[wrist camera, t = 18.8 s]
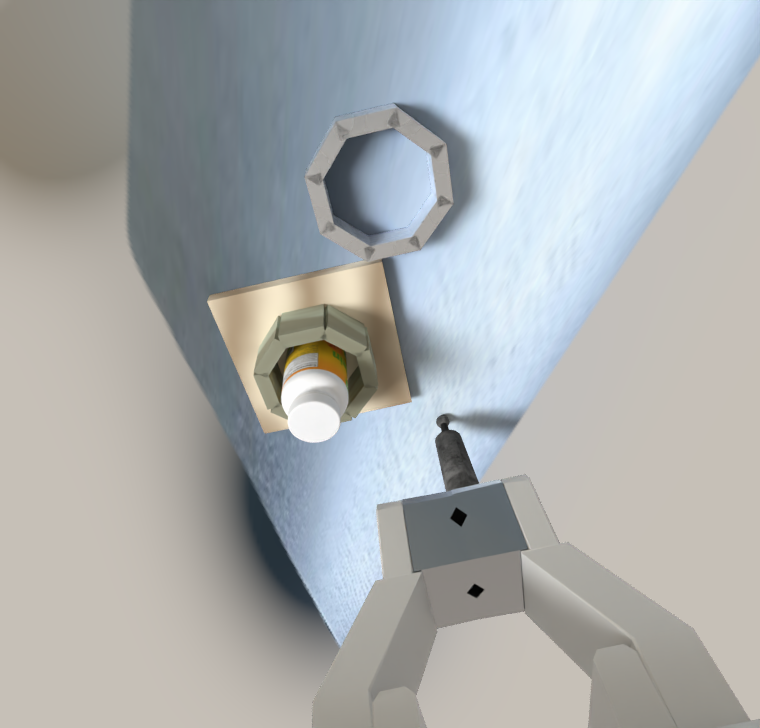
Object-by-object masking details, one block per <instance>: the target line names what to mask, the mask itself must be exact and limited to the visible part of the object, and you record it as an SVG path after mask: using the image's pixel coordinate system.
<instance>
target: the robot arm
mask: <svg viewBox="0 0 760 728" xmlns="http://www.w3.org/2000/svg"><path fill="white" fill-rule="evenodd" d="M376 515H377V525H378V535H379V545H380V554H381V564H382V574H383V579H381V580H377V581H375V583H374V585H373V587H372V588H371V590H370V592H369V594H368V596H367V598H366V600H365V602H364V604H363V606H362V608H361V610H360V612H359V613H358V615H357V617H356V619H355V621H354V623H353V625H352V627H351V629H350V631H349V633H348V635H347V636H346V638H345V640H344V642H343V644H342V646H341V648H340V650H339V652H338V654H337V656H336V658H335V660H334V662H333V664H332V665H331V667H330V669H329V671H328V673H327V675H326V677H325V679H324V681H323V683H322V684H321V686H320V688H319V690H318V692H317V694H316V696H315V698H314V700H313V709H312V711H313V712H312V728H426V724H425V721H424V718H423V716H422V713H421V710H420V707H419V704H418V701H417V698H416V695H417V691H418V689H419V686H420V683H421V680H422V677H423V673H424V671H425V667H426V664H427V661H428V658H429V655H430V652H431V649H432V646H433V643H434V640H435V637H436V634H437V629H438V628H442V627H446V626H451V625H455V624H460V623H464V622H468V621H472V620H477V619H482V618H488V617H494V616H500V615H506V614H512V613H517V612H524V611H525V613H526V615H527V616H528V617H530V619H531V620H532V621H533V622H534V623H535V624H536V625H537V626H538V627H539V628H540V629H541V630H542V631H544V632H545V633H546V634H547V635H548V636H549V637H550V638H551V639H552V640H553V641H554V642H555V643H556V644H557V645H558V646H559V647H560V648H561V649H562V650H563V651H564V652H565V653H566V654H567V655H568V656H569V657H570V658H571V659H572V660H573V661H574V662H575V663H576V664H577V665H578V666H579V667H580V668H581V669H582V670H583V671H584V672H585V673H586V674H587V675H588V676H589V677H590V678H591V679H592V683H591V698H590V710H589V725H588V728H760V719H757V720H752V721H751V720H750V719H749V718H748V716H747V714H746V712H745V711H744V709H743V707H742V706H741V704H740V703H739V701H738V699H737V698H736V696H735V695H734V693H733V691H732V690H731V688H730V687H729V685H728V683H727V682H726V680H725V678H724V677H723V675H722V674H721V672H720V670H719V669H718V667H717V666H716V664H715V662H714V661H713V659H712V657H711V656H710V654H709V653H708V651H707V649H706V648H705V646H704V645H703V643H702V641H701V640H700V638H699V636H698V635H697V633H696V632H695V630H694V629H693V628H692V627H691V626H689V625H688V624H686V623H685V622H683V621H682V620H680V619H679V618H677V617H676V616H675V615H673V614H672V613H670V612H669V611H667V610H666V609H664V608H663V607H662V606H660V605H659V604H657V603H656V602H654V601H653V600H651V599H650V598H648V597H647V596H646V595H644V594H643V593H641V592H640V591H638V590H637V589H635V588H634V587H632V586H631V585H630V584H628V583H627V582H625V581H624V580H622V579H621V578H619V577H618V576H617V575H615V574H613V573H612V572H611V571H609V570H608V569H606V568H605V567H603V566H602V565H600V564H599V563H598V562H596V561H595V560H593V559H592V558H590V557H589V556H587V555H586V554H585V553H583V552H582V551H580V550H579V549H577V548H576V547H574V546H573V545H571V544H570V543H569V542H565V543H560V542H559V540H558V538H557V536H556V534H555V532H554V530H553V527H552V525H551V523H550V521H549V519H548V517H547V514H546V512H545V510H544V508H543V506H542V504H541V502H540V499H539V497H538V495H537V493H536V491H535V489H534V486H533V484H532V482H531V480H530V478H529V477H528V476H527V475H526V474H525V475H520V476H515V477H510V478H506V479H501V480H495V481H490V482H486V483H481V484H476V485H472V486H467V487H463V488H458V489H454V490H451V491H448V492H442V493H436V494H431V495H425V496H420V497H414V498H409V499H403V500H399V501H394V502H389V503H383V504H378V505H377V509H376Z"/></svg>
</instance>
